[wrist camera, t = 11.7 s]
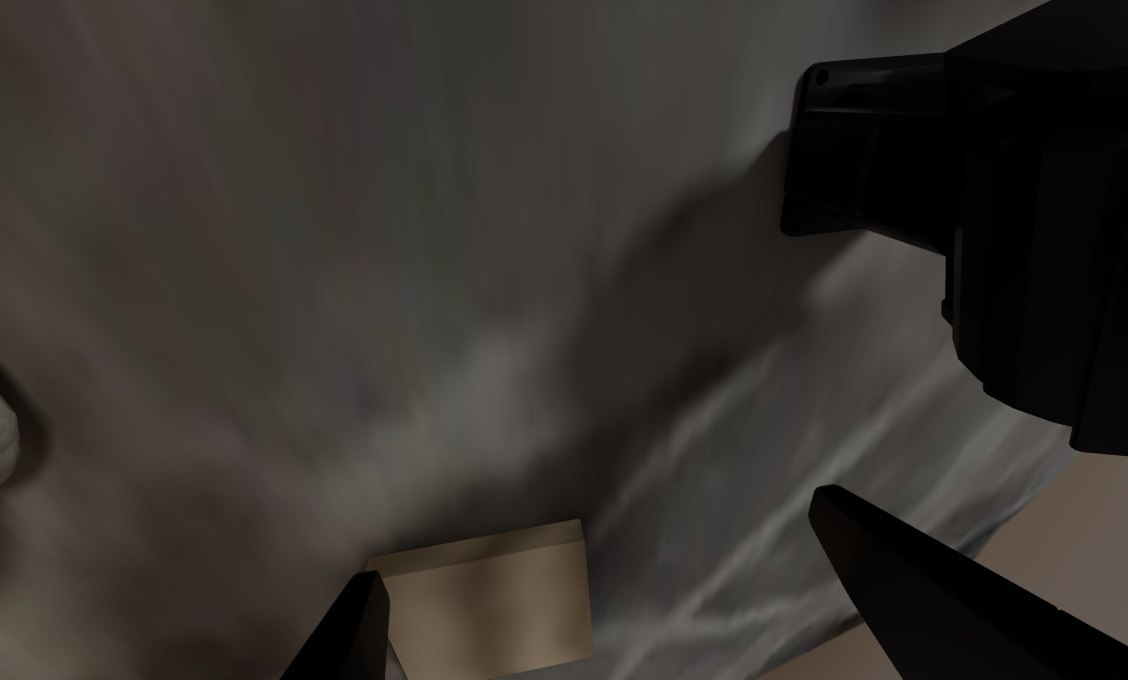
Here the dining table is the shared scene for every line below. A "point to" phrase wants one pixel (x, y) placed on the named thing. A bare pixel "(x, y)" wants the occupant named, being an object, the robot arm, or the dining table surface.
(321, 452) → the dining table surface
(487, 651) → the oak block
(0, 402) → the white eared plush toy
